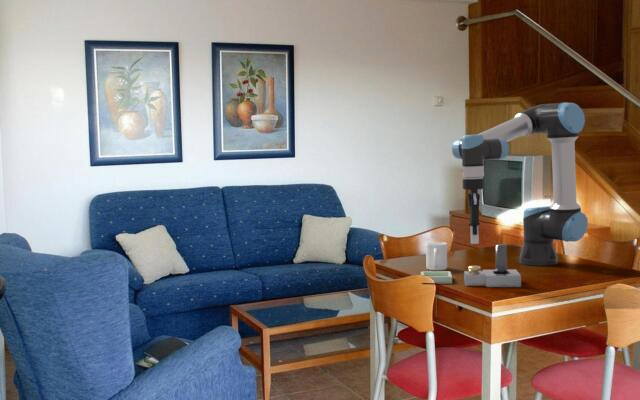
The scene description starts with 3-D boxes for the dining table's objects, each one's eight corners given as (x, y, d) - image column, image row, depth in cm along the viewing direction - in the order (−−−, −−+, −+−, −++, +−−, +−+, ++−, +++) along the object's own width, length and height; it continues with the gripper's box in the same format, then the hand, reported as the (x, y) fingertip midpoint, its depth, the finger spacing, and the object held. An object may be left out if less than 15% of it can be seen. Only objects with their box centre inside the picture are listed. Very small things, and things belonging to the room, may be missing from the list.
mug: (446, 272, 299) (445, 246, 298) (425, 272, 301) (424, 246, 300) (447, 267, 311) (447, 242, 310) (427, 266, 312) (426, 241, 312)
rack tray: (450, 277, 288) (450, 271, 288) (452, 283, 277) (452, 276, 277) (421, 278, 289) (420, 271, 289) (421, 283, 278) (421, 277, 278)
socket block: (516, 280, 280) (516, 269, 279) (521, 286, 268) (520, 275, 268) (463, 280, 282) (463, 269, 282) (466, 287, 270) (465, 276, 270)
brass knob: (480, 279, 277) (480, 265, 277) (481, 282, 273) (481, 267, 273) (467, 279, 278) (467, 265, 278) (468, 282, 274) (468, 267, 273)
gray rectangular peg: (506, 282, 276) (506, 244, 275) (507, 284, 272) (507, 245, 271) (495, 282, 277) (494, 244, 276) (496, 284, 273) (496, 245, 272)
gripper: (461, 177, 279) (462, 240, 281) (463, 179, 266) (465, 246, 269) (482, 176, 278) (483, 240, 281) (485, 179, 265) (487, 246, 268)
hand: (474, 243), depth 275 cm, fingers closed
